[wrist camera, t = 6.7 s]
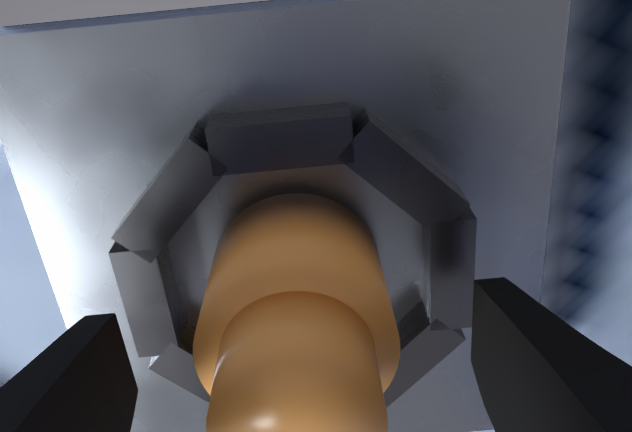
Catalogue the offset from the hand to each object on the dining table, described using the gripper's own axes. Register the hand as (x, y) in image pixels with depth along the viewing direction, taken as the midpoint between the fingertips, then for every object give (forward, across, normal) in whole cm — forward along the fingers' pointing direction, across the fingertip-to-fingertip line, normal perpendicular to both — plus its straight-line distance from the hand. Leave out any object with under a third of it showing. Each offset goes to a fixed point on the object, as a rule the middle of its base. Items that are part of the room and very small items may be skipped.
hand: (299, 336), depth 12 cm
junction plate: (+4, 0, 0) cm, 4 cm away
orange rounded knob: (+3, 0, 0) cm, 3 cm away
